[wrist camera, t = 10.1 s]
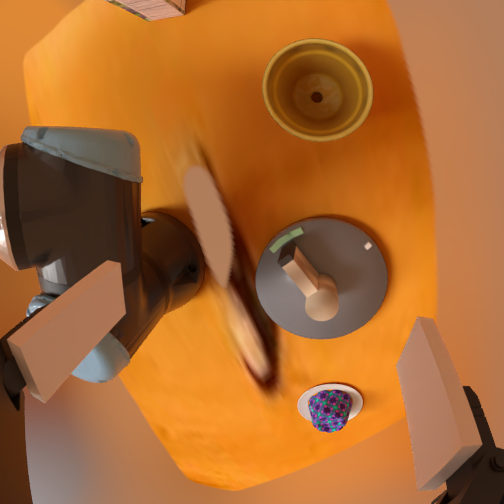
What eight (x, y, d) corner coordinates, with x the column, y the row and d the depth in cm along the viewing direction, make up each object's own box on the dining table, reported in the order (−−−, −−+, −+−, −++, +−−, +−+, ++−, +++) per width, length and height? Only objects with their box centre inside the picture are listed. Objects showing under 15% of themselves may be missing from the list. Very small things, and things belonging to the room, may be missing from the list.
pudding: (290, 387, 52) (286, 408, 47) (357, 374, 49) (358, 396, 44) (307, 425, 56) (304, 445, 51) (366, 415, 52) (367, 436, 47)
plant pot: (305, 154, 37) (302, 162, 28) (258, 86, 35) (239, 74, 26) (376, 113, 34) (394, 108, 25) (328, 44, 31) (330, 19, 22)
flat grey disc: (318, 351, 48) (318, 360, 46) (232, 278, 46) (228, 285, 44) (410, 280, 40) (413, 287, 39) (321, 188, 38) (322, 191, 37)
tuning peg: (342, 290, 41) (344, 310, 36) (318, 305, 42) (317, 326, 38) (299, 234, 39) (297, 249, 35) (274, 252, 41) (269, 268, 36)
